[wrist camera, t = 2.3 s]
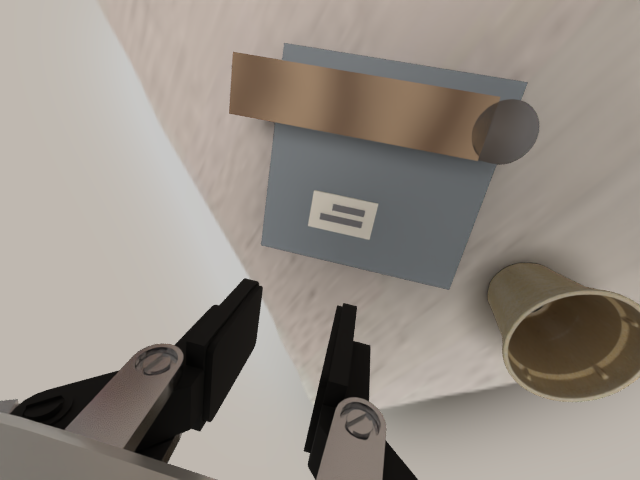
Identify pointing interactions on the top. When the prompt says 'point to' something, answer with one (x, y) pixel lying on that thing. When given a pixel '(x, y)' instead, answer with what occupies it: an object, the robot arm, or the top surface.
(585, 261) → the top surface
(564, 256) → the top surface
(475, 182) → the label board
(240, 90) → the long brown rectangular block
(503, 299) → the flower pot
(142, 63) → the top surface
